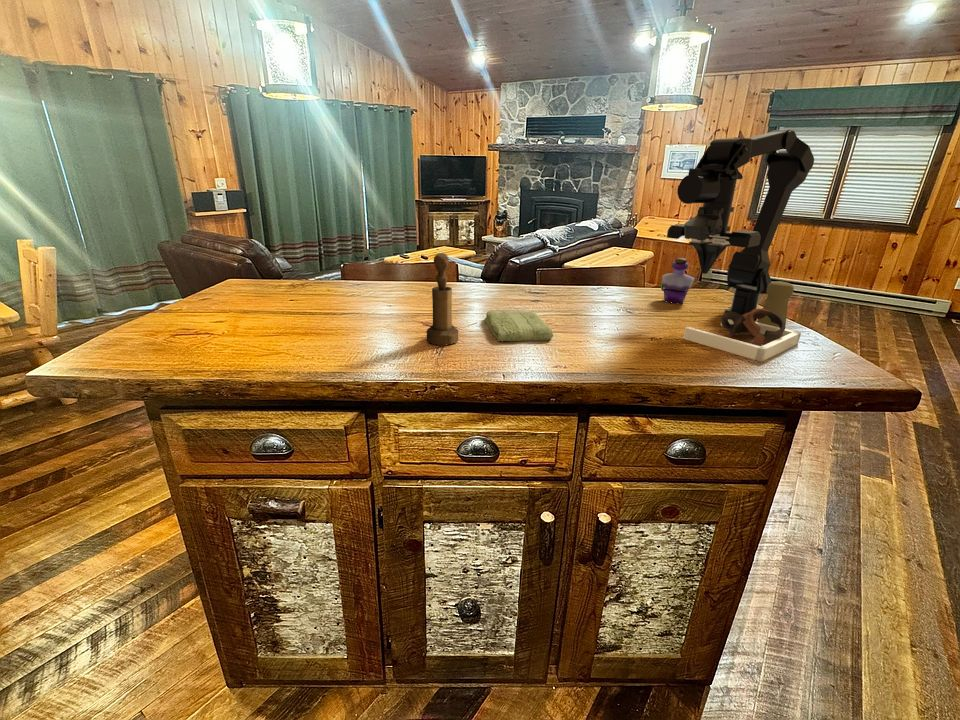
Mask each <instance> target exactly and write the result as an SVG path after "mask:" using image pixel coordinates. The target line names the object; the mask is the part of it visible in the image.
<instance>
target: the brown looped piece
mask: <svg viewBox="0 0 960 720" xmlns="http://www.w3.org/2000/svg"><path fill="white" fill-rule="evenodd" d="M765 316H768V317H769V318H770V319H771V322H772V323H775V324H777V325H779V327H780V329H779V330H778V331H768V330H766V331H765V334H764V335H763V334H762V333H760V332H759V331H760V328H761V327H760V326H759V325H757V324H756V323H755V322H757V321H758V319H762V318H764V317H765ZM728 320H732V321H733V323H734V324H730V323H729V322H728ZM721 323H722V326H721V327H722V328H723V329H724V330H726V331H728V333H729V334H728V335H729V336H731V337H734V336H735V335H738V334H746V335H749V336H752V335H753V336H752V337H754V338H753V340H751V342H749V343H750V344H753V345H757V346H763V345H765V344H768V343H770V342H772V341H774V340H777V339H779V338H781V337H783V331H784V330H785V329H786V326H785V323H784V321H783V319H782V318H781V317H780V316H779V315H777V314H776V313H774V312H772V311H769V310H766V309H763V308H756V309H754V310H752V311H751V312H749V313H746V314H743V315H739V314H737V313H736V312H725V313H724V314H723V316H722V315H721V317H720V324H721Z"/></svg>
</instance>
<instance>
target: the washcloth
mask: <svg viewBox="0 0 960 720" xmlns="http://www.w3.org/2000/svg"><path fill="white" fill-rule="evenodd" d="M485 322H486V323H485ZM484 323H485V324H486V326H487V327H488V329H489V330H490V332H491V333H492V335H493V336H494V337H495V339H496V338H497V339H496V340H497V342H500V341H501V343H503V341H510V342H516V341H517V342H518V341H519V342H522V341H525V342H526V341H527V342H528V341H530V340H531V341H532V342H537V341H539V342H540V341H541V342H549V341H551V340H552V338H553V337H554V333H553V330H552V328H551V327H550V326H549V325H548V324H546V323H545V321H544V320H543V319H542V318H541V317H540V316H539V314H538V313H537V312H534V311H533V312H532V311H520V310H516V311H515V310H505V311H499V312H498V311H494V310H489V311H488V312H486V317H485V318H484Z"/></svg>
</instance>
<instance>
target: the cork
mask: <svg viewBox="0 0 960 720" xmlns="http://www.w3.org/2000/svg"><path fill="white" fill-rule="evenodd" d="M794 291H795V287H794V285H793V284H792V283H790V282H787V281H781V280H779V281H778V280H776V281H772V282H771V283H770V284H769V285H768V287H767V294H766V295H767V296H766V300H765V302H764V305H763V306H762V309H766V310H769V311H772V312H774V313H776V314H777V315H779V316H780V317H781V318H782V319H783V321H784V323H785V327H786V324H787V316H788V307H789V298H790V297H792V295H793V294H794ZM756 322H758V323H762V324H766V325H771V326H775V327H779V325H777V324H775V323H772V322H771V319H770V318H769V317H768V316H765V317H764V318H762V319H757V320H756ZM779 328H780V327H779Z"/></svg>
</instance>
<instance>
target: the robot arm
mask: <svg viewBox="0 0 960 720" xmlns="http://www.w3.org/2000/svg"><path fill="white" fill-rule="evenodd" d="M763 155H765V157H764V162H765V164H766V166H767V172H766V177H767V183H768V190H767V192H766V195H765V198H764V200H763V203H762V205H761V208H760V211H759V213H758V215H757V218H756V220H755V223H754V225H753V229H752V230H746V229H741V230H735V231H732V232H730V230H731V226H729V222H730V221H729V220H730V216H731V213H734V209H735V207H734V206H733V201H734V195H735V191H736V186H737V182H738V180H743V178H744V176H743V174H742V173H741V172H740V171H739V168H741V167H743V166H745V165H746V164H748V163H749V162H750V161H751V159H752V158H756V157H759V156H763ZM814 162H815V157H814V154H813V151H812V149H811V147H810V145H808V144H807V143H805V142H804V141H803V140H801V139H800V138H799V137H798V136H797V134H796V132H795V131H794V130H792V129H774V130H772V131H769V132H767V133H763V134H757V135H753V136H751V137H734V138H715V139H713V140H712V141H711V142H709V146H708V147H707V148H706V150H705V152H703V154H702V156H701V157H700V159H699V162H698V163H697V164H696V166H695V168H689V169H688V174H687V175H685V176H684V177H683V178H682V179H681V181H680V183H679V185H678V186H677V191H676V192H677V193H676V194H677V197H678V199H679V201H680V202H682V203H683V204H685V205H689V204H690V205H692V204H702V206H699V207H698V210H697V213H696V215H695V216H693V217H691V218H690V219H689V220H688V221H686V222H685V223H683V224H682V223H679V224H671V225H670V226H669V228H668V229H667V232H666V238H667V239H674V240H679V239H680V238H681V237H684V238H685V239H686V240H689V239H690V241H688V244H689V245H691V246H692V247H693V248H695V251H696V253H697V257H698V261H699V266H700V271H701V274H704V275H706V274H708V273H709V271H710V270H711V268H712V267H713V266H714V264H715V263H716V261H717V260H718V258H720V257H719V256H721V254H722V253H723V252H724V251H725V249H726V248H728V247H739V248H743V249H741V250H740V251H735V252H733V253H734V254H733V255H732V258H731V261H730V263H729V265H728V266H727V267H728V268H727V270H726V271H727V272H726V278H727V279H726V282H727V284H726V285H727V288H732V289H734V293H733V297H732V301H731V305H730V308H726V309H724V312H725V313H727V312H736V313H737V314H739V315H743V314H746V313H749V312H751V311H752V310H754V309H758V308H757V307H758V304H759V299H760V296H761V294H763V295H768V294H767V287H768V285H769V284H770V283H771V282H773V281H772V279H771V275H770V273H769V270H770V266H771V260H770V257H769V249H770V247H771V244H772V242H773V239H774V237H775V235H776V231H777V229H778V227H779V225H780V222H781V219H782V217H783V215H784V212H785V210H786V207H787V205H788V203H789V200H790V197H791V195H792V193H793V192H794V191H795V190H796V189H797V188H799V186H801V185H802V183H804V182H805V181H806V179H807V177H808V174H810V171H811V170H812V168H813V167H814Z"/></svg>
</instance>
